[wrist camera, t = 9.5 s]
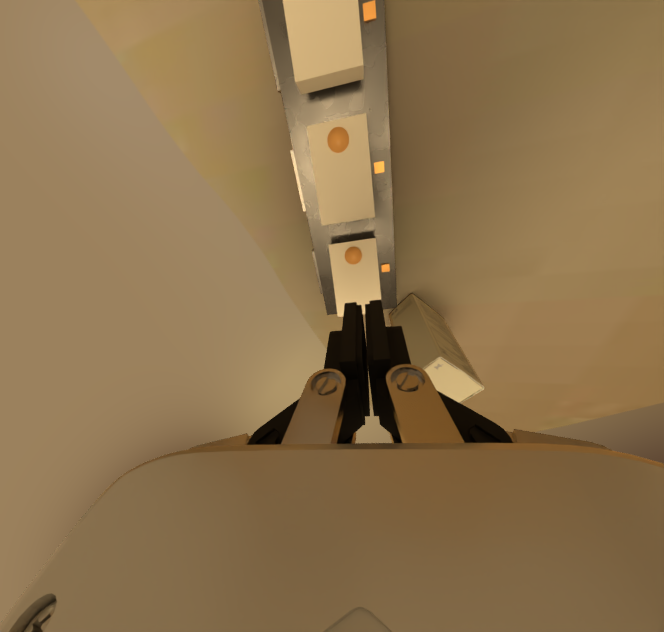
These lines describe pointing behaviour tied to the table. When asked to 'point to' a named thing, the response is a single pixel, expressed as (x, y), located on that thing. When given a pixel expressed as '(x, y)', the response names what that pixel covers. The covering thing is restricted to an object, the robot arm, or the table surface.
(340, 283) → the rocker
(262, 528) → the robot arm
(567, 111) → the table surface
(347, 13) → the rocker
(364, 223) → the power strip
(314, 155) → the cream flat rectangular block
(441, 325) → the skincare box
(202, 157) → the table surface
